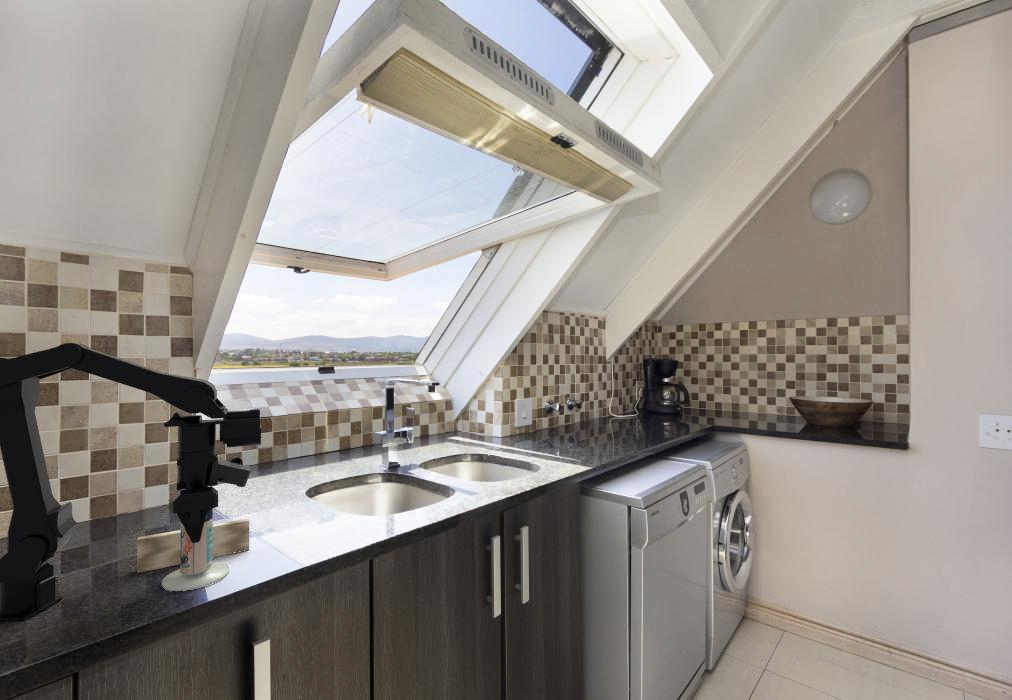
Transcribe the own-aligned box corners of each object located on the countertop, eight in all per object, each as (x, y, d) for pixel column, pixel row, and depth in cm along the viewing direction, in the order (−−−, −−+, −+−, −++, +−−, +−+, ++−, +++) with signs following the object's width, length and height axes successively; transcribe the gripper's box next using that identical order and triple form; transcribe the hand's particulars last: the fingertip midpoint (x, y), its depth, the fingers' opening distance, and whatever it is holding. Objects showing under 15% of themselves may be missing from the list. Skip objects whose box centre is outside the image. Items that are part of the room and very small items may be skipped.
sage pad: (147, 591, 79) (147, 588, 79) (187, 565, 89) (187, 562, 89) (206, 591, 79) (206, 588, 79) (240, 565, 89) (240, 561, 89)
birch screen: (137, 572, 86) (137, 539, 86) (138, 569, 87) (138, 537, 87) (249, 550, 96) (249, 520, 96) (248, 547, 97) (248, 518, 97)
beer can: (177, 570, 84) (178, 503, 84) (208, 562, 87) (209, 497, 87) (182, 580, 80) (183, 509, 81) (214, 571, 84) (215, 503, 84)
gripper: (252, 454, 81) (251, 545, 80) (244, 438, 96) (243, 514, 96) (173, 461, 75) (172, 560, 74) (178, 443, 90) (177, 525, 90)
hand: (196, 537), depth 84 cm, fingers closed on beer can, 5 cm apart
